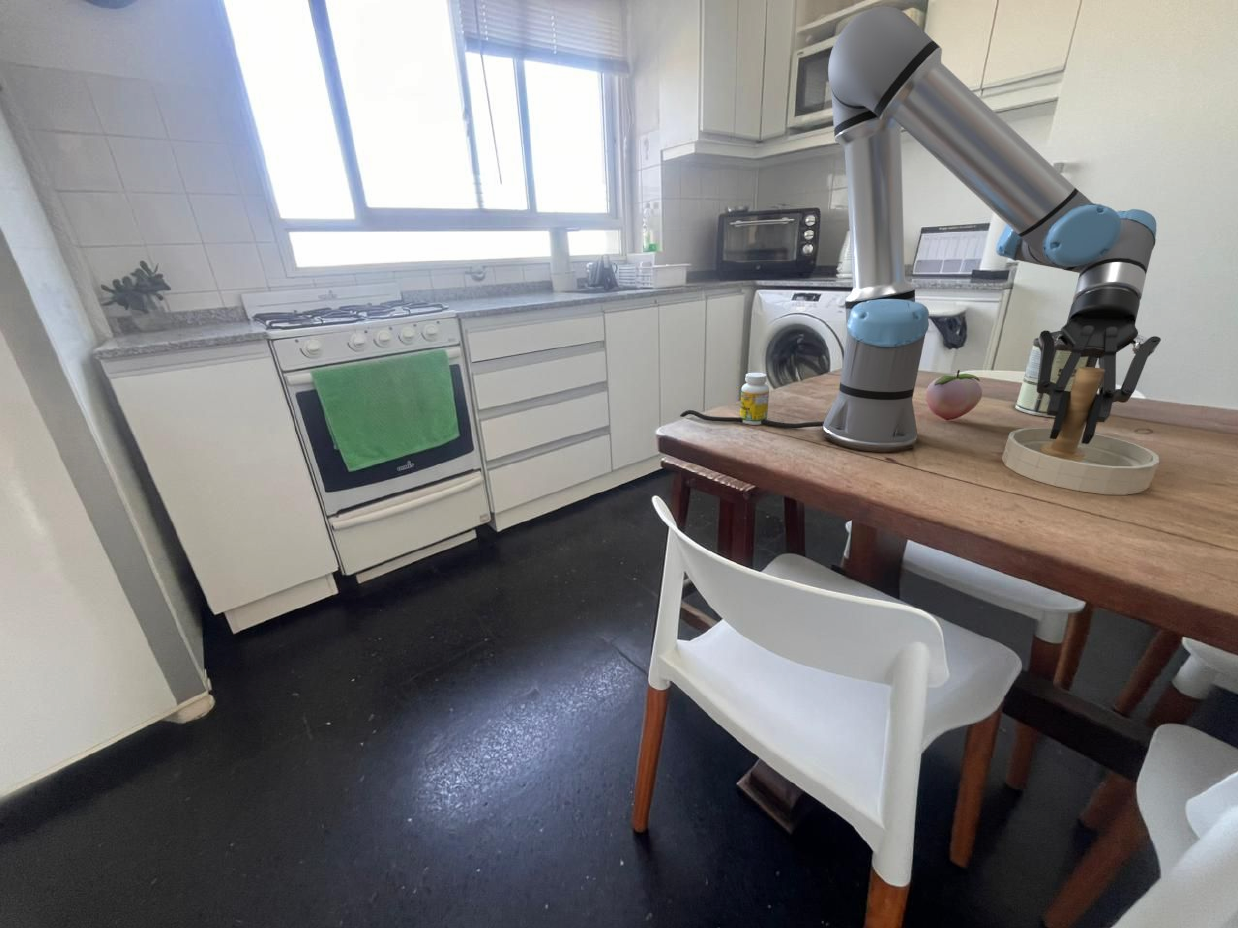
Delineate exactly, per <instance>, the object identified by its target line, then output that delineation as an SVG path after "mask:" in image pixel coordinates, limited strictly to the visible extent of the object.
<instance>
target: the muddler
mask: <svg viewBox="0 0 1238 928" xmlns="http://www.w3.org/2000/svg"><path fill="white" fill-rule="evenodd" d="M1104 373H1105V370H1104V369H1101V368H1099V367H1095V368H1094V367H1079V368H1078V370H1077V373H1076V376H1075V379H1074V382H1073V385H1072V388H1071V393H1070V396H1069V400H1068V404H1067V408H1066V412H1065V416H1064V419H1063V423H1062V427H1061V431H1060V433H1059V435H1058V437H1057V439H1054V441H1053V443H1048V444H1043V445H1042V447H1041V450H1040V453H1043V454H1046V455H1050V456H1054V457H1058V458H1061V459H1066V460H1071V461H1082V460H1083V459H1084V457H1085V454H1086V453H1085V451H1083V450H1082V449H1079V448H1077V447H1078V444H1079V441H1080V439H1081V436H1082V433H1083V431H1084V430H1085V426H1086V422H1087V419H1088V416H1089V413H1090V411H1091V408H1092V405H1093V402H1094V400H1095V397H1096V394H1098V393H1099V386H1100V384H1101V381H1102V378H1103V375H1104Z"/></svg>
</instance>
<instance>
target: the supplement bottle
mask: <svg viewBox="0 0 1238 928" xmlns="http://www.w3.org/2000/svg"><path fill="white" fill-rule="evenodd" d="M767 377H768V375H767V374H766V373H764V372H749V373H746V374H745V377H744V378H745V382H746V383H744V384H743V385H742V386H741V388H740V389H741V390H740V406H739V407H740V408H739V417H741V418H742V419H743V422H741V423H742V424H746V425H749V426H750V425H751V426H759V425H762V424H761V421H762V420H768V410H769V401H770V400H769V399H770V387H769V385H768V384H766V383H767V381H768V379H767Z"/></svg>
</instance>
